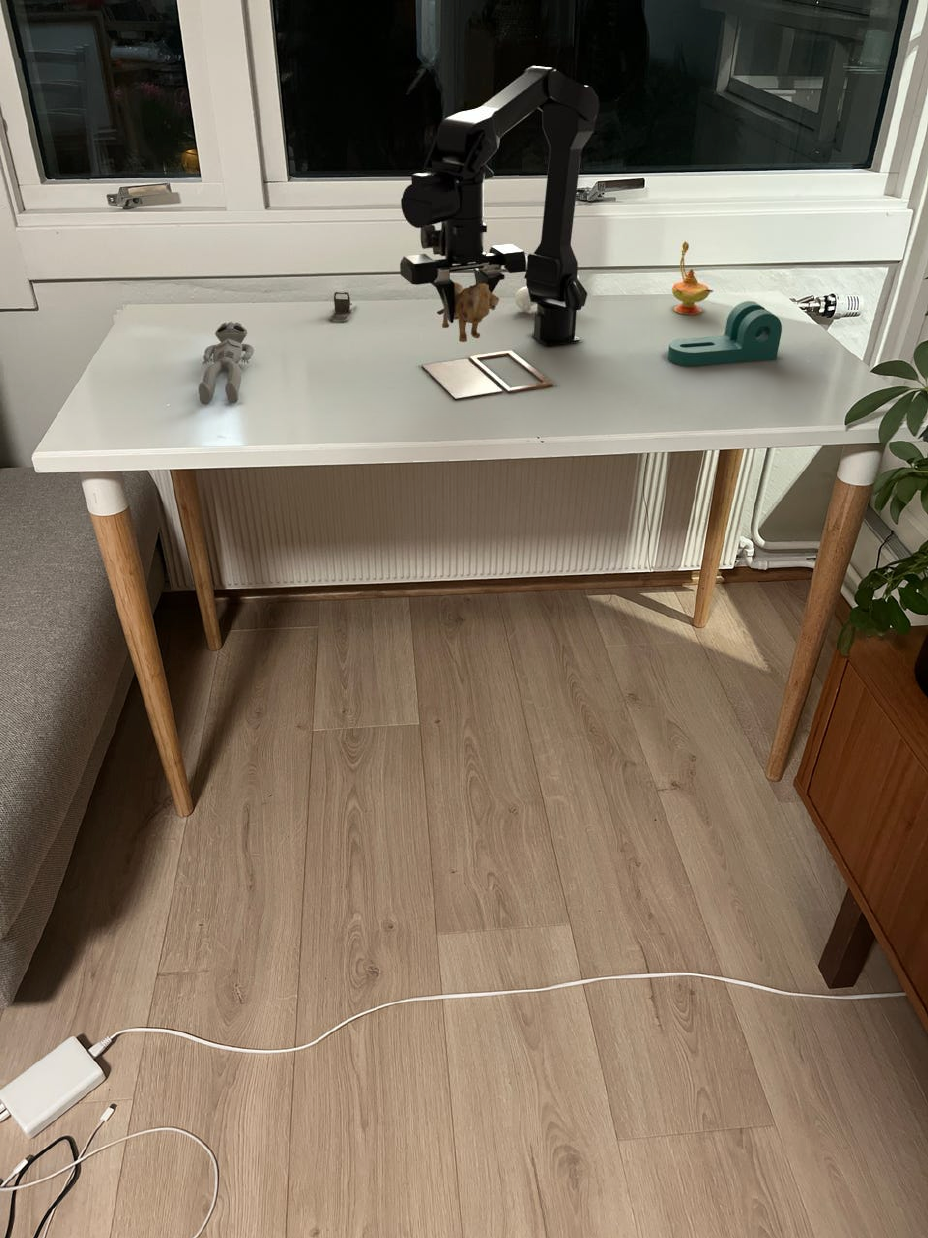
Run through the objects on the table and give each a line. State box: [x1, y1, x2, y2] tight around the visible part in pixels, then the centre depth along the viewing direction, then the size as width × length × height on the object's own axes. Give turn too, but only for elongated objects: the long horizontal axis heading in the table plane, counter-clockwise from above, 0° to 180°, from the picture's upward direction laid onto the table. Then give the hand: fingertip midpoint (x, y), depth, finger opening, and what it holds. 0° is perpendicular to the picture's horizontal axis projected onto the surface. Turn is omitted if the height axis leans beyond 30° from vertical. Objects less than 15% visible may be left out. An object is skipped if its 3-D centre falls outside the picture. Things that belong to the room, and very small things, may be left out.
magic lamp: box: [671, 240, 714, 316], centre depth 179 cm, size 7×18×11 cm, turn 7°
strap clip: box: [331, 291, 355, 322], centre depth 180 cm, size 8×3×4 cm, turn 174°
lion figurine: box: [436, 281, 500, 343], centre depth 149 cm, size 15×5×9 cm, turn 33°
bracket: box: [667, 300, 783, 367], centre depth 162 cm, size 18×7×8 cm, turn 103°
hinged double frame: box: [421, 350, 554, 401], centre depth 157 cm, size 16×16×1 cm
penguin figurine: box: [514, 275, 580, 314], centre depth 180 cm, size 6×8×12 cm
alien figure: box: [198, 321, 255, 405], centre depth 156 cm, size 8×5×25 cm
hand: (464, 320), depth 150 cm, fingers closed on lion figurine, 4 cm apart
